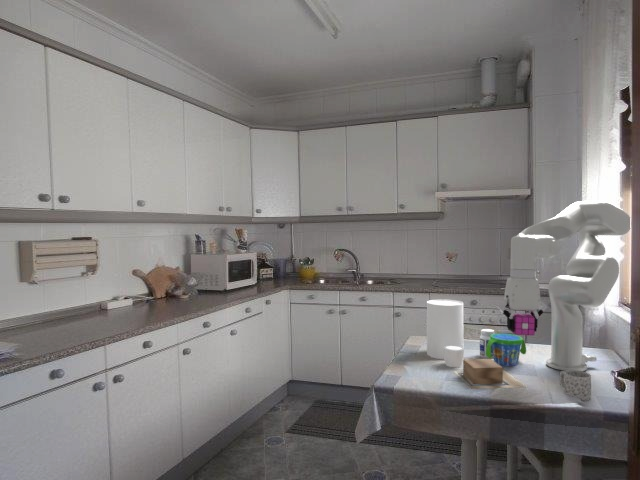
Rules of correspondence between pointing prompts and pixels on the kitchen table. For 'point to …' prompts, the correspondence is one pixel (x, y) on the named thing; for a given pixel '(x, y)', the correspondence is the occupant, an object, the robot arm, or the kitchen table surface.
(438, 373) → the kitchen table surface
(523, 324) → the puzzle toy
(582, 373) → the mug
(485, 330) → the pill bottle
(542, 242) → the robot arm
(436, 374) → the kitchen table surface
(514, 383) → the board
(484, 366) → the walnut base block
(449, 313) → the canister
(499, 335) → the snack cup
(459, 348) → the shot glass
